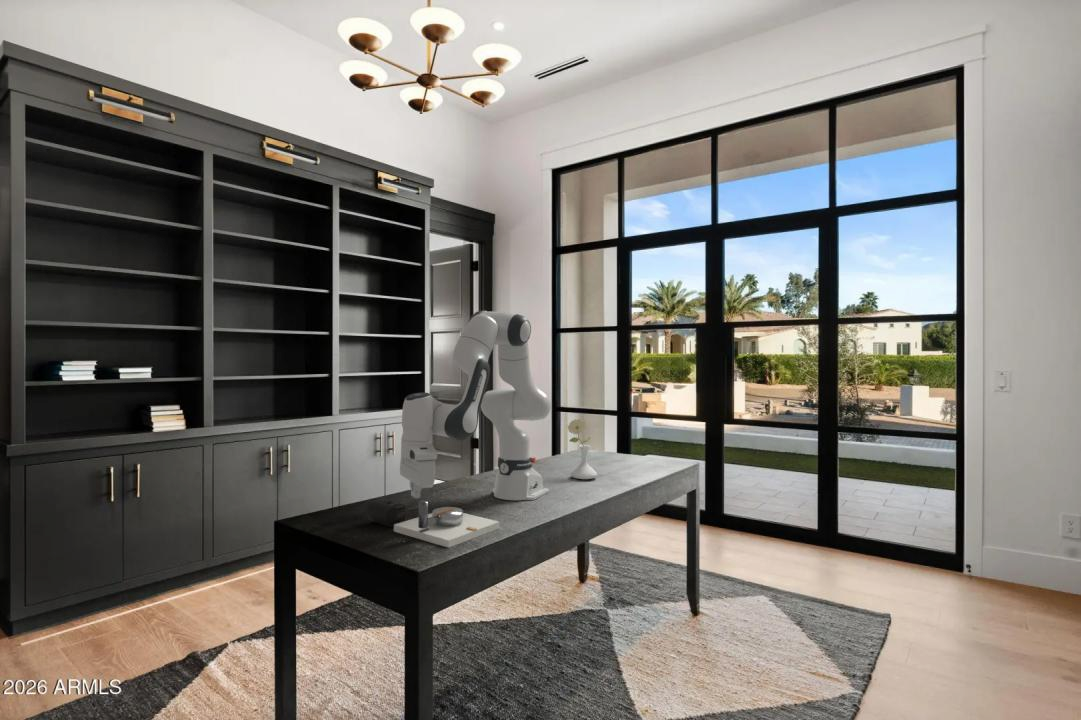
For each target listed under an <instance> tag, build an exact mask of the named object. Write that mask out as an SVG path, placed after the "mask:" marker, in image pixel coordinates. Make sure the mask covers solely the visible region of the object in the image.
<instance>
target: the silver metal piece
mask: <svg viewBox="0 0 1081 720" xmlns="http://www.w3.org/2000/svg"><path fill="white" fill-rule="evenodd" d="M431 513H432V517H429V518H428V514H429V501H428V500H419V501H418V517H419V519H418V527H419V528H427V527H428V526H431V525H434V524H436V525H441V526H452V525H458V524H460V523H462V522H463V513H464V510H463V509H462V508H459V507H455V506H443V507H437V508H434V509H432V512H431Z"/></svg>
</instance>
